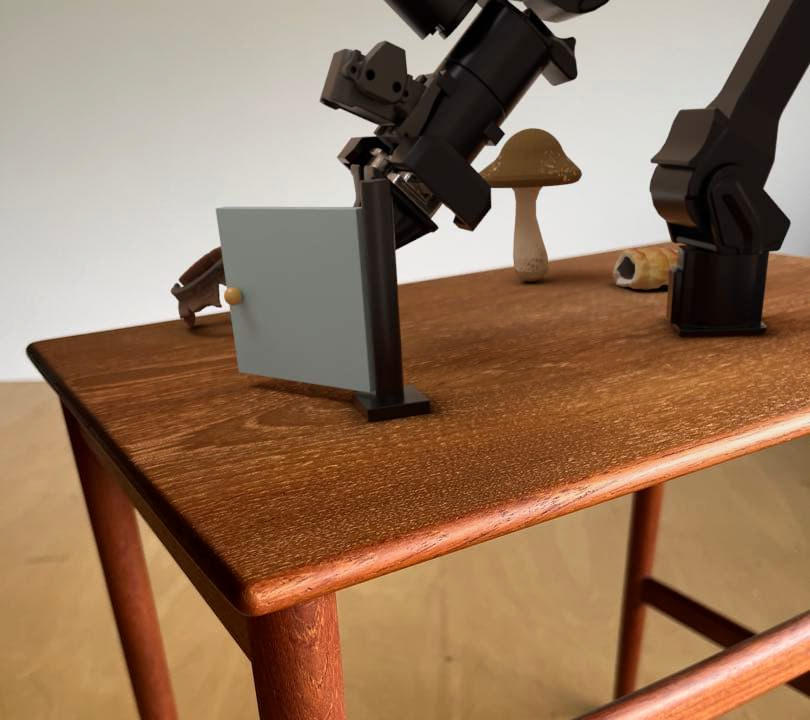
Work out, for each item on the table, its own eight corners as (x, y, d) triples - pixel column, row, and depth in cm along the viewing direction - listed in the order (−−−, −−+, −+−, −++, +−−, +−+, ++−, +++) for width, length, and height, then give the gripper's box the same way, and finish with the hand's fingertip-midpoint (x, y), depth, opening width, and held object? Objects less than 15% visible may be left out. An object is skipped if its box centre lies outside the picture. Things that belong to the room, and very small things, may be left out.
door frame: (430, 412, 55) (419, 178, 49) (368, 421, 54) (349, 184, 48) (411, 396, 58) (399, 176, 52) (353, 404, 57) (333, 181, 51)
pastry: (688, 275, 92) (692, 237, 91) (725, 285, 87) (729, 244, 85) (606, 284, 91) (608, 245, 89) (638, 295, 85) (640, 253, 83)
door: (379, 389, 56) (366, 207, 52) (358, 398, 55) (342, 211, 50) (248, 369, 63) (226, 206, 58) (226, 376, 62) (201, 210, 57)
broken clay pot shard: (289, 338, 79) (231, 260, 74) (208, 383, 82) (148, 312, 78) (307, 280, 88) (257, 209, 83) (233, 324, 91) (181, 257, 87)
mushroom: (500, 272, 101) (498, 129, 95) (594, 276, 95) (598, 123, 89) (459, 286, 94) (454, 133, 88) (558, 291, 89) (560, 127, 82)
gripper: (352, 16, 65) (225, 190, 67) (433, -26, 48) (261, 207, 50) (458, 126, 70) (336, 285, 72) (562, 122, 53) (401, 327, 56)
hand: (333, 275), depth 62 cm, fingers closed
